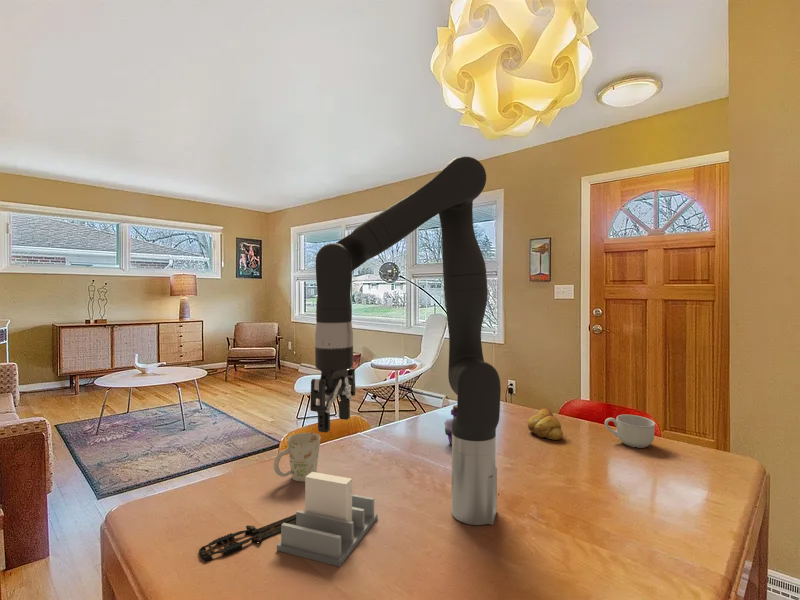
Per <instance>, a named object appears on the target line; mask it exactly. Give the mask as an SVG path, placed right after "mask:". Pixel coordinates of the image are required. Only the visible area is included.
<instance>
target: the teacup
mask: <svg viewBox="0 0 800 600" xmlns="http://www.w3.org/2000/svg"><path fill="white" fill-rule="evenodd" d="M609 422H613V423H614V426H615V428H616V429H615V430H614V429H612V428H611V427H610V426H609ZM604 426H605V428H606V429H607V430H608V431H609V432H610V433H612V434H613V435H614V436H615V437H616V438H618V439H619V440H620V441H621V442H622V443H623V444H625V445H626V446H629V447H632V448H635V447H637V448H636V449H644V448H646V447H648V446H650V445H652V444H653V442H654V440H655V430H656V429H655V428H656V427H655V426H656V422H655V421H654V420H652V419H650V418H647V417H645V416H640V415H636V414H635V415H634V414H619V415H617V416H616V418H614V417H607V418H606V419H605V421H604Z"/></svg>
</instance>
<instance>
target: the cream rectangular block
mask: <svg viewBox="0 0 800 600" xmlns="http://www.w3.org/2000/svg"><path fill="white" fill-rule="evenodd" d="M304 485H305V487H304V488H305V490H304V493H305V494H304V495H305V497H304V501H305V502H304V506H305V507H304V511H306V512H310V513H315V514H320V515H324V516H329V517H334V518H338V519H343V520H348V521H352V494H353V479H352V478H349V477H345V476H339V475H332V474H327V473H322V472H317V471H316V472H311V473H310V474H309V475H307V476H306V477H305V481H304Z"/></svg>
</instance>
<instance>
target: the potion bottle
mask: <svg viewBox="0 0 800 600" xmlns="http://www.w3.org/2000/svg"><path fill="white" fill-rule="evenodd" d="M450 415H452V418H447V419H445V421H444V435H446V436H447V437H448V438H447V439H448V442H449V443H450V444H451V445H452V421H453V419H454V418H456V416H457V405H453V406H452V409H451V410H450ZM449 443H448V444H449ZM451 445H450V446H451Z"/></svg>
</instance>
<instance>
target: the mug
mask: <svg viewBox="0 0 800 600" xmlns="http://www.w3.org/2000/svg"><path fill="white" fill-rule="evenodd" d="M286 442H287V448H284V449H282V450H281V451H279V452H278V454H277V455H276V457H275V459H274V462H273V470H274V472H275V474H276V475H277V476H280V477H288V476H289V475H291V478H292V480H293V481H295V482H303V483H304V482H305V477H306V476H307V475H309V474H310V473H311V472H317V470H318V461H319V456H320V455H319V454H320V447H321V436H320V434H318V433H314V432H299V433H296V434H292V435H290V436H289V437H288V438H287V441H286ZM285 455H288V457H289V465H290V470H288V471H286V472H283V471H281V469H280V467H279V463H280V460H281V458H282V457H283V456H285Z"/></svg>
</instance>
